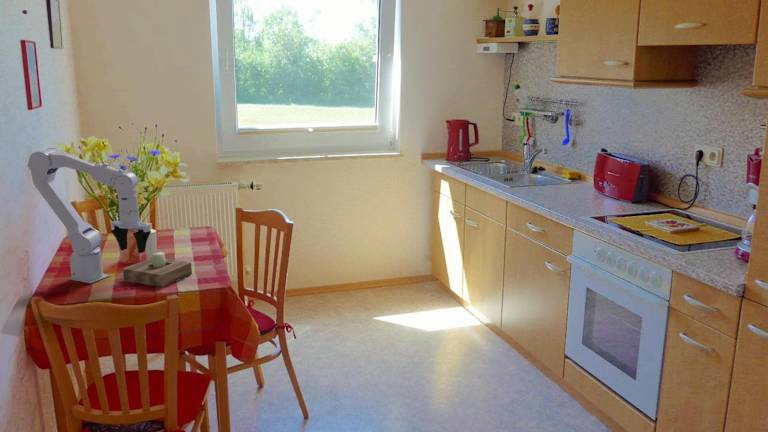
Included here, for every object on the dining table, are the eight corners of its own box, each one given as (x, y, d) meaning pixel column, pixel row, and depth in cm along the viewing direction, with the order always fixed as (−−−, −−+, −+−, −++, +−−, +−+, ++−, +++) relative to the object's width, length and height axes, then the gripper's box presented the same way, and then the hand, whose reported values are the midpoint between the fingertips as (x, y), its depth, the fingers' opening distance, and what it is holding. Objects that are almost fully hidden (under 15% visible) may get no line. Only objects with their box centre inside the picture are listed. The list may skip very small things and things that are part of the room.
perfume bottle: (160, 263, 225) (157, 221, 222) (157, 267, 221) (153, 225, 217) (147, 263, 225) (144, 222, 221) (143, 267, 221) (139, 225, 217)
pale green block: (151, 274, 210) (149, 255, 209) (159, 270, 214) (157, 251, 212) (160, 275, 209) (158, 256, 207) (169, 271, 212) (167, 253, 211)
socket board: (123, 280, 208) (122, 268, 207) (154, 267, 220) (153, 256, 219) (162, 287, 201) (161, 275, 200) (191, 273, 214) (191, 262, 213)
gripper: (102, 210, 203) (106, 251, 206) (136, 215, 198) (140, 256, 201) (119, 206, 209) (123, 245, 213) (153, 210, 204) (156, 251, 207)
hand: (132, 250), depth 207 cm, fingers open, 7 cm apart
